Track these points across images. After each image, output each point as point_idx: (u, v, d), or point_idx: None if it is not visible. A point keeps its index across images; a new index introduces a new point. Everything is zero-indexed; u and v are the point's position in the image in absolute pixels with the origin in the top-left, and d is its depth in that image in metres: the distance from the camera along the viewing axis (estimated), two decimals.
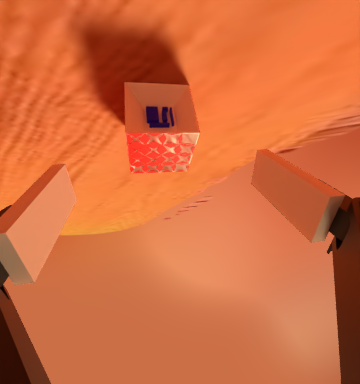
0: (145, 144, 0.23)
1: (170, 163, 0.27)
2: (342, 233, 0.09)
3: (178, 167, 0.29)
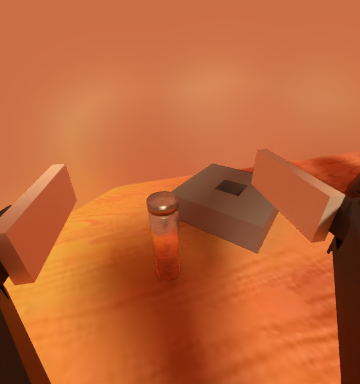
0: None
1: None
2: (342, 233, 0.09)
3: None
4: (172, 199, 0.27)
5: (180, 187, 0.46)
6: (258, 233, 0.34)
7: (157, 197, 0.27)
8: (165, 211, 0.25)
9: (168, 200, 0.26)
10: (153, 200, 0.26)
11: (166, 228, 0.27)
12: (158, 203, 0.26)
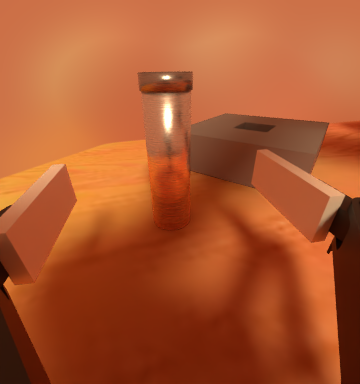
0: None
1: None
2: (342, 233, 0.09)
3: None
4: None
5: None
6: (306, 166, 0.23)
7: None
8: (170, 80, 0.14)
9: None
10: None
11: (171, 121, 0.15)
12: None
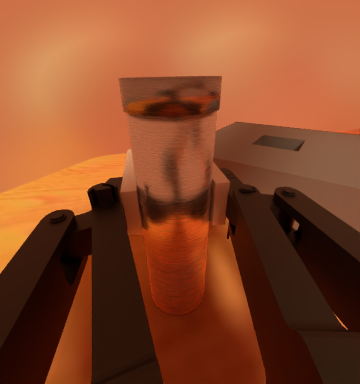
0: None
1: None
2: (233, 219, 0.10)
3: None
4: (201, 76, 0.08)
5: None
6: None
7: None
8: (182, 94, 0.07)
9: None
10: None
11: (183, 168, 0.08)
12: (157, 77, 0.08)
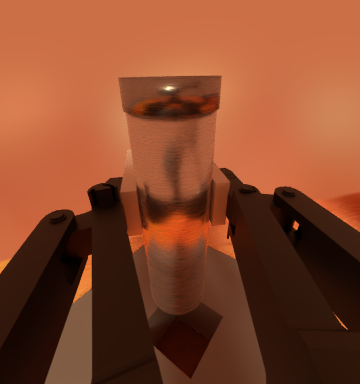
0: None
1: None
2: (233, 219, 0.10)
3: None
4: None
5: None
6: None
7: None
8: (182, 93, 0.07)
9: None
10: None
11: (182, 168, 0.08)
12: None
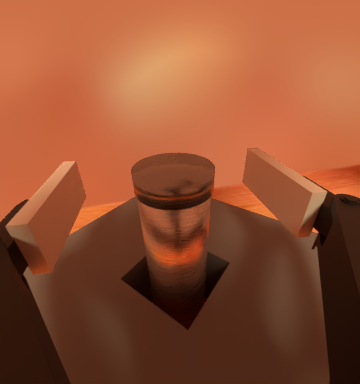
0: None
1: None
2: (325, 229, 0.09)
3: None
4: (198, 166, 0.10)
5: None
6: None
7: (159, 163, 0.11)
8: (183, 196, 0.09)
9: (188, 168, 0.10)
10: (149, 169, 0.10)
11: (183, 241, 0.10)
12: (162, 175, 0.09)
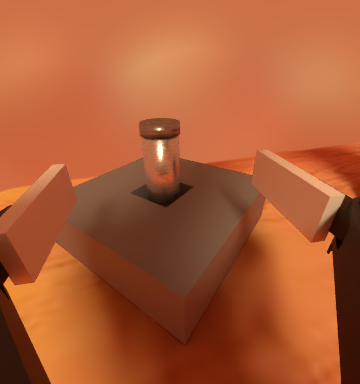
0: None
1: None
2: (342, 233, 0.09)
3: None
4: (171, 122, 0.21)
5: None
6: (177, 307, 0.14)
7: (152, 121, 0.21)
8: (162, 131, 0.19)
9: (166, 122, 0.20)
10: (147, 122, 0.21)
11: (164, 159, 0.21)
12: (153, 124, 0.20)
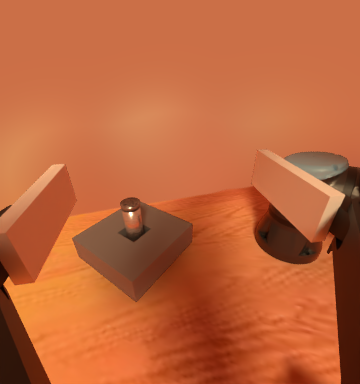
0: None
1: None
2: (342, 233, 0.09)
3: None
4: (135, 202, 0.44)
5: (87, 230, 0.49)
6: (131, 286, 0.37)
7: (127, 201, 0.45)
8: (130, 209, 0.43)
9: (133, 203, 0.44)
10: (124, 203, 0.44)
11: (132, 219, 0.44)
12: (126, 204, 0.44)
